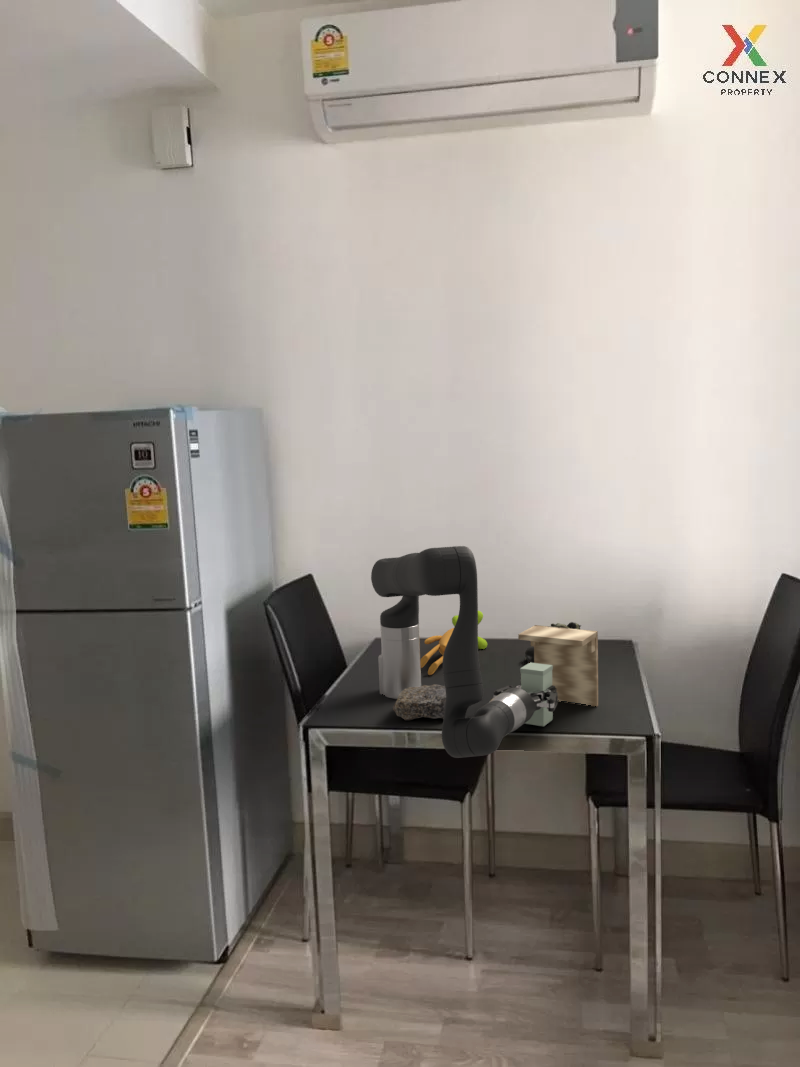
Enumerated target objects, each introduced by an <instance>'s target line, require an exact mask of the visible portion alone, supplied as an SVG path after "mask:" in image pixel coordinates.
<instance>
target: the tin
mask: <svg viewBox="0 0 800 1067" xmlns="http://www.w3.org/2000/svg"><path fill="white" fill-rule="evenodd" d="M552 670H553V665H548V664H539V663H531V662H530V663H529V662H528V663H527V664H525V665H523V666H522V667H520V668H519V671H520V672H519V673H520V686H521V688H522V689H523V690H525V691H526V692H528V691H530V692H532V691H536V690H542V691H544V690H546V689H547V688H549V687H550V686H552ZM544 699H545V695H544ZM553 712H554V711H553ZM553 712H550V711H548V709H547V708H546V707H541V709H539V710H536V711H535V712H534V713H533V715H532V717H531V718H530V719H529V720H528V721H527V722H526V723H524V724H526V725H533V726H538V727H545V726H546V725H547V724H549V723H551V722H552V721H553V719H554V716H553V715H554V713H553Z"/></svg>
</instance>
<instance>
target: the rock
mask: <svg viewBox="0 0 800 1067" xmlns="http://www.w3.org/2000/svg"><path fill="white" fill-rule="evenodd" d="M445 689H446V688H445V685H440V684H431V685H426V684H422V685H421V686H420V687H409V688H407V689H404V691H402V692H401V693H400V694H399V696H398V699H396V701H395V703H394V704H393V706H392V711H393V712H394V713H395V714H396V715H395V716H397V717H399V718H402V719H404V721H412V720H416V719H420V718H428V719H435V720H436V719H442V720H443V719H444V712H445V703H446V690H445Z"/></svg>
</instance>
